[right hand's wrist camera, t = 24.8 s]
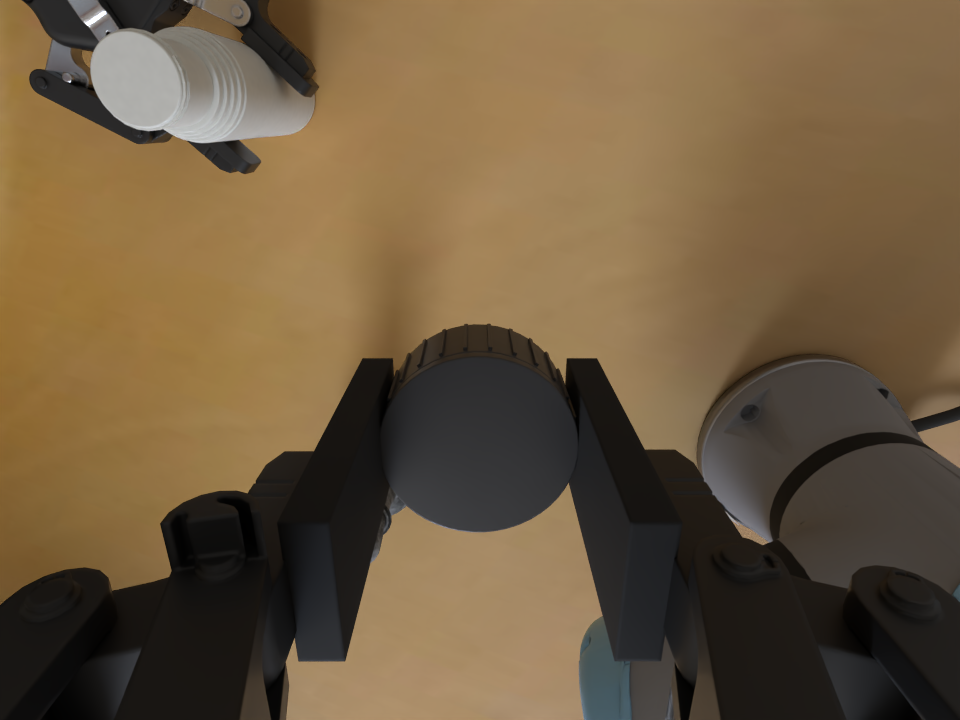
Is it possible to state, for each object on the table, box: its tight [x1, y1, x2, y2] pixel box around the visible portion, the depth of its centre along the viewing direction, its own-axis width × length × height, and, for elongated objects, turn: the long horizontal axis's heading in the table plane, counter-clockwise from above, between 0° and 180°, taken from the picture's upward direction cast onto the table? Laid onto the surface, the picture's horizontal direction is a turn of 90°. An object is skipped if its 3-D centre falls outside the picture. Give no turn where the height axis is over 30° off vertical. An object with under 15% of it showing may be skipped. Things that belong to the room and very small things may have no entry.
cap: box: [380, 324, 579, 532], centre depth 14 cm, size 4×4×2 cm
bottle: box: [90, 26, 315, 143], centre depth 28 cm, size 5×5×17 cm
